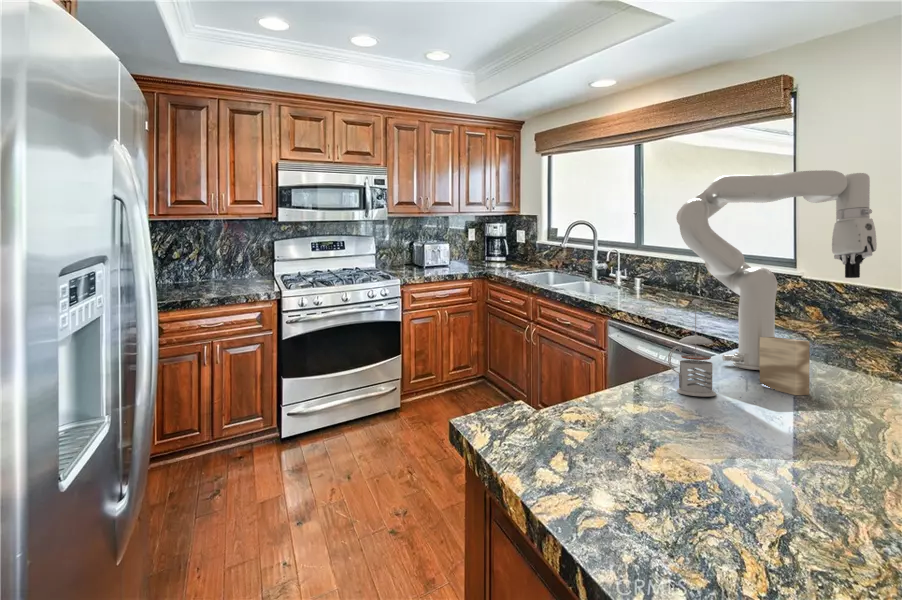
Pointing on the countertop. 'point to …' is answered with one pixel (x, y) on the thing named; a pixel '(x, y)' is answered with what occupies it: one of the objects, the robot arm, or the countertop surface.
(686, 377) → the french press
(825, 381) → the countertop surface
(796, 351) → the maple block
